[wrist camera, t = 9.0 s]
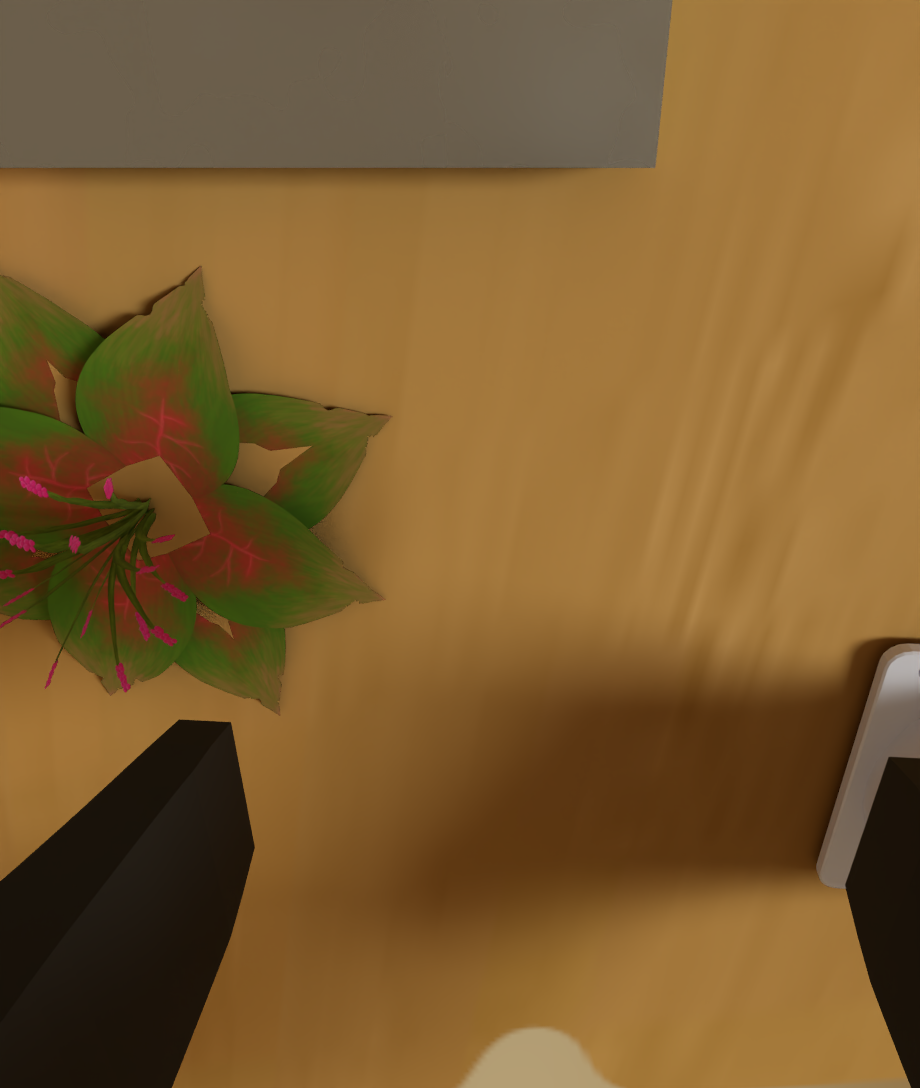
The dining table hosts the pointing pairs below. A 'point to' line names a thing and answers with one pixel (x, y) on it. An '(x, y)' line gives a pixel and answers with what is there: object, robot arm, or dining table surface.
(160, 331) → the lily flower
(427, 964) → the dining table surface
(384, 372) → the dining table surface
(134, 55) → the gray square-hole plate
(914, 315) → the dining table surface
